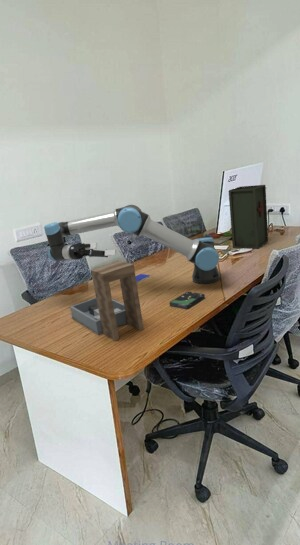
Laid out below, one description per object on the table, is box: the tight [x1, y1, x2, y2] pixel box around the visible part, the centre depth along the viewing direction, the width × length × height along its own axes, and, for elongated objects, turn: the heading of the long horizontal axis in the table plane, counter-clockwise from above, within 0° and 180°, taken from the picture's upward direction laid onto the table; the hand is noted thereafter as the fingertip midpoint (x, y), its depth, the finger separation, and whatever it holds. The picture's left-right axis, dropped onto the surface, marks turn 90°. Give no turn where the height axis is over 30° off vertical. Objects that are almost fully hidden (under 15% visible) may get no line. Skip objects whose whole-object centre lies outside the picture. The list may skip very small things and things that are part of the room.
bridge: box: [90, 260, 145, 342], centre depth 151 cm, size 10×14×28 cm
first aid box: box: [228, 184, 269, 250], centre depth 256 cm, size 18×18×40 cm
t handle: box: [88, 305, 122, 320], centre depth 169 cm, size 19×12×4 cm, turn 34°
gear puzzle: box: [202, 231, 232, 241], centre depth 297 cm, size 31×16×4 cm, turn 51°
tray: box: [69, 297, 127, 336], centre depth 170 cm, size 27×18×6 cm, turn 35°
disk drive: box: [169, 291, 206, 310], centre depth 176 cm, size 10×3×15 cm
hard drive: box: [135, 273, 151, 283], centre depth 222 cm, size 2×8×12 cm
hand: (106, 248), depth 172 cm, fingers open, 13 cm apart
